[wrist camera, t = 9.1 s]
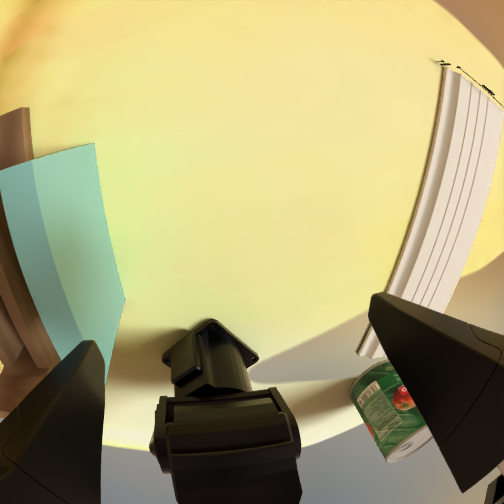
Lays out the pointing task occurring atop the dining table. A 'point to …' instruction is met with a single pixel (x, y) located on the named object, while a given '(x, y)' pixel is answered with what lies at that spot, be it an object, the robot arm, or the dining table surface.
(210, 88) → the dining table surface
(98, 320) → the teal sheet
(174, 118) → the dining table surface
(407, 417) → the canned tomato
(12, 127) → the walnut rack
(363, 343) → the baseboard molding
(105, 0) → the dining table surface
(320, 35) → the dining table surface
